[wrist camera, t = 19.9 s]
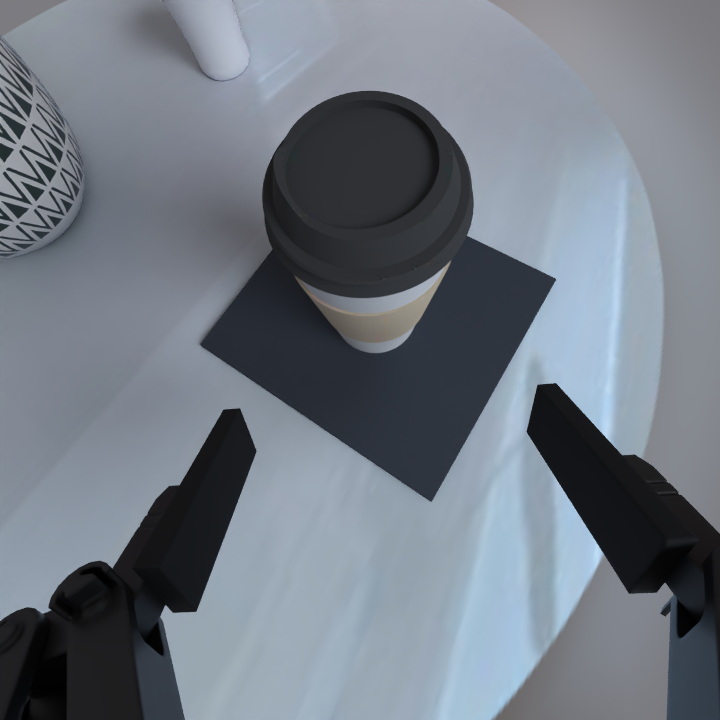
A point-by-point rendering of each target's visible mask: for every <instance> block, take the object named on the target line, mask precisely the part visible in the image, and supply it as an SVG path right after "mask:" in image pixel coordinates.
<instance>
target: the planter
mask: <svg viewBox="0 0 720 720" xmlns="http://www.w3.org/2000/svg"><path fill="white" fill-rule="evenodd" d="M83 195H84V168H83V161H82V157H81V153H80V149H79V146H78V144H77V141H76V139H75V136H74V134H73V132H72V130H71V128H70V126H69V124H68V122H67V120H66V119H65V117H64V116H63V114H62V112H61V111H60V109H59V108H58V106H57V105H56V103H55V101H54V100H53V98H52V97H51V96H50V94H49V93H48V92H47V90H46V89H45V87H44V86H43V85H42V83H41V82H40V80H39V79H38V78H37V77H36V75H35V74H34V73H33V72H32V70H31V69H30V68H29V67H28V66H27V64H26V63H25V62H24V61H23V60H22V58H21V57H20V56H19V55H18V54H17V53H16V51H15V50H14V49H13V48H12V47H11V46H10V45H9V44H8V42H7V41H6V40H5V39H4V38H3V37H2V36H1V35H0V259H6V258H11V257H15V256H19V255H23V254H26V253H29V252H32V251H35V250H37V249H40V248H42V247H44V246H46V245H47V244H49V243H51V242H52V241H54V240H55V239H57V238H58V237H59V236H60V235H62V234H63V233H64V232H65V231H66V230H67V229H68V227H69V226H70V225H71V224H72V222H73V221H74V219H75V218H76V216H77V214H78V212H79V209H80V207H81V204H82V200H83Z"/></svg>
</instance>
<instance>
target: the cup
mask: <svg viewBox="0 0 720 720" xmlns="http://www.w3.org/2000/svg"><path fill="white" fill-rule="evenodd" d="M161 2H162V3H163V5H164V6H165V8H166V9H167V10H168V11H169V12H170V14H171V15H172V16H173V18H174V20H175V21H176V23H177V25H178V26H179V28H180V30H181V31H182V33H183V35H184V36H185V38H186V40H187V42H188V44H189V45H190V47H191V49H192V51H193V53H194V55H195V57H196V59H197V61H198V63H199V65H200V67H201V69H202V71H203V72H204V73H205V74H206V75H208V76H209V77H210V78H212V79H215V80H221V81H226V80H229V79H233V78H235V77H237V76H239V75H240V74H241V73H242V72H244V71H245V69H246V68H247V66H248V64H249V59H250V53H249V50H248V47H247V45H246V42H245V40H244V37H243V34H242V31H241V28H240V25H239V21H238V18H237V15H236V11H235V8H234V4H233V1H232V0H161Z"/></svg>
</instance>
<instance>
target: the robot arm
mask: <svg viewBox="0 0 720 720" xmlns="http://www.w3.org/2000/svg"><path fill="white" fill-rule="evenodd" d="M527 433H528V435H529V436H530V438H531V440H532V441H533V443H534V444H535V446H536V448H537V449H538V451H539V452H540V454H541V455H542V457H543V459H544V460H545V462H546V463H547V465H548V466H549V468H550V470H551V471H552V473H553V474H554V476H555V477H556V479H557V481H558V482H559V484H560V485H561V487H562V489H563V490H564V492H565V493H566V495H567V496H568V498H569V500H570V501H571V503H572V504H573V506H574V507H575V509H576V511H577V512H578V514H579V515H580V517H581V519H582V520H583V522H584V523H585V525H586V526H587V528H588V530H589V531H590V533H591V534H592V536H593V537H594V539H595V541H596V542H597V544H598V545H599V547H600V548H601V550H602V552H603V553H604V555H605V556H606V558H607V559H608V561H609V562H610V564H611V566H612V567H613V569H614V570H615V572H616V574H617V575H618V577H619V578H620V580H621V582H622V583H623V585H624V586H625V588H626V590H627V591H628V593H629V594H631V593H632V594H633V593H656V592H657V591H658V590H659V589H660V588H661V586H662V585H663V584H664V583H666V584H667V585H668V587H669V588H670V589H671V591H672V592H673V594H674V595H673V596H672V597H671V599H670V600H669V601H668V602H667V603H666V604H665V605H664V607H663V608H662V611H661V613H660V614H662V615H664V616H666V615H667V614H668V613H669V612H670V611H671V614H670V642H669V670H668V699H667V720H720V534H719V533H718V532H717V531H716V530H715V529H714V527H713V526H711V524H710V523H708V521H707V520H706V519H705V518H704V517H703V516H702V515H701V514H700V513H699V512H698V511H697V510H696V509H695V508H694V507H693V506H692V505H691V504H690V503H689V502H688V501H687V500H686V499H685V498H684V497H683V496H682V495H679V494H678V491H677V490H676V489H675V488H674V487H673V486H672V485H671V484H670V483H667V480H666V479H665V478H664V477H663V476H662V475H661V474H660V473H659V472H658V471H657V470H656V469H655V468H654V467H653V466H652V465H650V464H649V463H647V462H646V461H644V460H642V459H641V458H639V457H638V456H636V455H621V454H620V453H619V451H618V450H617V449H616V448H615V447H614V446H613V445H612V444H611V443H610V442H609V441H608V439H607V438H606V437H605V436H604V435H603V434H602V433H601V432H600V431H599V430H598V429H597V427H596V426H595V425H594V424H593V423H592V422H591V421H590V420H589V419H588V418H587V417H586V415H585V414H584V413H583V412H582V411H581V410H580V409H579V408H578V407H577V406H576V405H575V404H574V402H573V401H572V400H571V399H570V398H569V397H568V396H567V395H566V394H565V393H564V392H563V390H562V389H561V388H560V387H559V386H558V385H557V384H556V383H554V384H541V385H537V389H536V394H535V398H534V402H533V407H532V411H531V415H530V420H529V424H528V428H527ZM255 454H256V448H255V446H254V443H253V441H252V438H251V435H250V433H249V430H248V428H247V425H246V422H245V420H244V417H243V415H242V412H241V410H240V408H239V409H226V410H223V412H222V413H221V415H220V417H219V419H218V420H217V422H216V424H215V425H214V427H213V429H212V431H211V432H210V434H209V436H208V438H207V439H206V441H205V443H204V444H203V446H202V448H201V450H200V451H199V453H198V455H197V457H196V458H195V460H194V462H193V463H192V465H191V467H190V469H189V470H188V472H187V474H186V476H185V477H184V479H183V481H182V482H181V484H180V485H178V486H169V487H168V488H167V489H166V490H165V491H164V492H163V493H162V494H161V495H160V496H159V497H158V498H157V499H156V500H155V502H154V503H153V505H152V506H151V508H150V510H149V511H148V515H147V516H145V518H144V519H143V521H142V522H141V524H140V527H138V529H137V530H136V532H135V534H134V535H133V537H132V538H131V540H130V542H129V543H128V545H127V546H126V548H125V550H124V551H123V553H122V554H121V556H120V558H119V559H118V561H117V562H116V564H115V565H114V567H113V569H112V568H111V567H110V566H109V565H108V564H107V563H105V562H102V561H95V562H90V563H88V564H86V565H84V566H82V567H80V568H78V569H77V570H75V571H74V572H73V573H71V574H70V575H69V576H68V577H67V578H66V579H65V580H64V581H63V582H62V583H61V584H60V585H59V586H58V587H57V589H56V591H55V592H54V594H53V595H52V597H51V600H50V603H49V607H48V608H50V609H51V610H52V611H49V612H47V613H44V614H42V613H41V612H39V611H38V610H36V609H35V608H28V607H27V608H24V609H21V610H17V611H15V612H14V613H12V614H10V615H9V616H7V617H5V618H4V619H2V620H1V621H0V720H185V718H184V714H183V709H182V705H181V700H180V696H179V691H178V687H177V682H176V678H175V673H174V669H173V664H172V660H171V655H170V651H169V646H168V642H167V638H166V633H165V629H164V624H163V621H162V619H161V618H160V615H161V613H162V611H163V609H164V607H165V605H166V606H167V607H168V608H169V609H170V610H171V611H172V612H173V613H178V612H196V611H197V609H198V606H199V603H200V601H201V598H202V595H203V593H204V590H205V587H206V585H207V582H208V579H209V577H210V574H211V571H212V569H213V566H214V563H215V561H216V558H217V555H218V553H219V550H220V547H221V545H222V542H223V539H224V537H225V534H226V531H227V529H228V526H229V523H230V521H231V518H232V515H233V513H234V510H235V507H236V505H237V502H238V499H239V497H240V494H241V491H242V489H243V486H244V483H245V481H246V478H247V475H248V473H249V470H250V467H251V465H252V462H253V459H254V457H255Z"/></svg>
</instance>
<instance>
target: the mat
mask: <svg viewBox="0 0 720 720" xmlns="http://www.w3.org/2000/svg"><path fill="white" fill-rule="evenodd" d="M555 281H556V279H555V278H553V277H551V276H549V275H547V274H545V273H543V272H541V271H539V270H537V269H534V268H532V267H530V266H528V265H526V264H524V263H522V262H520V261H518V260H516V259H514V258H512V257H510V256H508V255H505V254H503V253H501V252H499V251H497V250H495V249H493V248H491V247H489V246H487V245H485V244H483V243H481V242H478V241H476V240H474V239H472V238H470V237H468V236H466V238H465V240H464V242H463V244H462V246H461V247H460V249H459V250H458V252H457V253H456V255H455V256H454V257H453V258H452V260H451V262H450V265H449V267H448V269H447V271H446V273H445V275H444V277H443V278H442V280H441V282H440V284H439V286H438V288H437V289H436V291H435V293H434V295H433V297H432V299H431V300H430V302H429V304H428V306H427V308H426V310H425V311H424V313H423V315H422V317H421V318H420V320H419V321H418V322H417V324H416V325H415V326H414V328H413V330H412V332H411V334H410V335H409V337H408V338H407V339H406V340H405V341H404V342H403V343H402V344H401V345H399V346H398V347H396V348H394V349H392V350H390V351H387V352H382V353H368V352H364V351H361V350H358V349H356V348H354V347H352V346H351V345H350V344H348V343H347V342H346V341H345V340H344V339H343V338H342V336H341V335H340V333H339V332H338V331H337V330H336V329H335V328H334V327H333V326H332V325H331V323H330V322H329V321H328V320H327V318H326V317H325V316H324V315H323V313H322V312H321V311H320V309H319V308H318V307H317V306H316V304H315V303H314V302H313V301H312V299H311V298H310V297H309V295H308V294H307V293H306V292H305V290H304V289H303V288H302V287H301V285H300V284H299V283H298V281H297V279H296V278H295V276H294V274H292V273H291V272H290V271H289V270H288V269H287V268H286V267H285V266H284V264H283V263H282V262H281V261H280V259H279V258H278V257H277V255H276V254H275V252H274V250H272V251H271V252H270V254H269V255H268V256H267V258H266V259H265V260H264V262H263V263H262V264H261V265H260V267H259V268H258V269H257V271H256V272H255V273H254V275H253V276H252V277H251V279H250V280H249V281H248V283H247V284H246V285H245V286H244V288H243V289H242V290H241V292H240V293H239V294H238V296H237V297H236V298H235V300H234V301H233V302H232V304H231V305H230V306H229V307H228V309H227V310H226V311H225V313H224V314H223V315H222V317H221V318H220V319H219V321H218V322H217V323H216V325H215V326H214V327H213V328H212V330H211V331H210V332H209V334H208V335H207V336H206V338H205V339H204V340H203V342H202V343H201V344H200V345H201V346H202V347H204V348H205V349H207V350H208V351H210V352H211V353H213V354H214V355H216V356H217V357H218V358H220V359H221V360H223V361H224V362H226V363H227V364H229V365H230V366H232V367H233V368H235V369H236V370H238V371H239V372H241V373H242V374H244V375H245V376H246V377H248V378H249V379H251V380H252V381H254V382H255V383H257V384H258V385H260V386H261V387H263V388H264V389H266V390H267V391H269V392H270V393H272V394H273V395H274V396H276V397H277V398H279V399H280V400H282V401H283V402H285V403H286V404H288V405H289V406H291V407H292V408H294V409H295V410H297V411H298V412H300V413H301V414H302V415H304V416H305V417H307V418H308V419H310V420H311V421H313V422H314V423H316V424H317V425H319V426H320V427H322V428H323V429H325V430H326V431H328V432H329V433H331V434H332V435H333V436H335V437H336V438H338V439H339V440H341V441H342V442H344V443H345V444H347V445H348V446H350V447H351V448H353V449H354V450H356V451H357V452H359V453H360V454H361V455H363V456H364V457H366V458H367V459H369V460H370V461H372V462H373V463H375V464H376V465H378V466H379V467H381V468H382V469H384V470H385V471H387V472H388V473H389V474H391V475H392V476H394V477H395V478H397V479H398V480H400V481H401V482H403V483H404V484H406V485H407V486H409V487H410V488H412V489H413V490H415V491H416V492H417V493H419V494H420V495H422V496H423V497H425V498H426V499H428V500H429V501H431V502H432V500H433V498H434V497H435V495H436V493H437V491H438V489H439V488H440V486H441V484H442V482H443V480H444V479H445V477H446V475H447V473H448V472H449V470H450V468H451V466H452V464H453V463H454V461H455V459H456V457H457V455H458V454H459V452H460V450H461V448H462V447H463V445H464V443H465V441H466V439H467V438H468V436H469V434H470V432H471V430H472V429H473V427H474V425H475V423H476V422H477V420H478V418H479V416H480V414H481V413H482V411H483V409H484V407H485V406H486V404H487V402H488V400H489V398H490V397H491V395H492V393H493V391H494V389H495V388H496V386H497V384H498V382H499V381H500V379H501V377H502V375H503V373H504V372H505V370H506V368H507V366H508V364H509V363H510V361H511V359H512V357H513V356H514V354H515V352H516V350H517V348H518V347H519V345H520V343H521V341H522V340H523V338H524V336H525V334H526V332H527V331H528V329H529V327H530V325H531V323H532V322H533V320H534V318H535V316H536V315H537V313H538V311H539V309H540V307H541V306H542V304H543V302H544V300H545V298H546V297H547V295H548V293H549V291H550V290H551V288H552V286H553V284H554V282H555Z"/></svg>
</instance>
